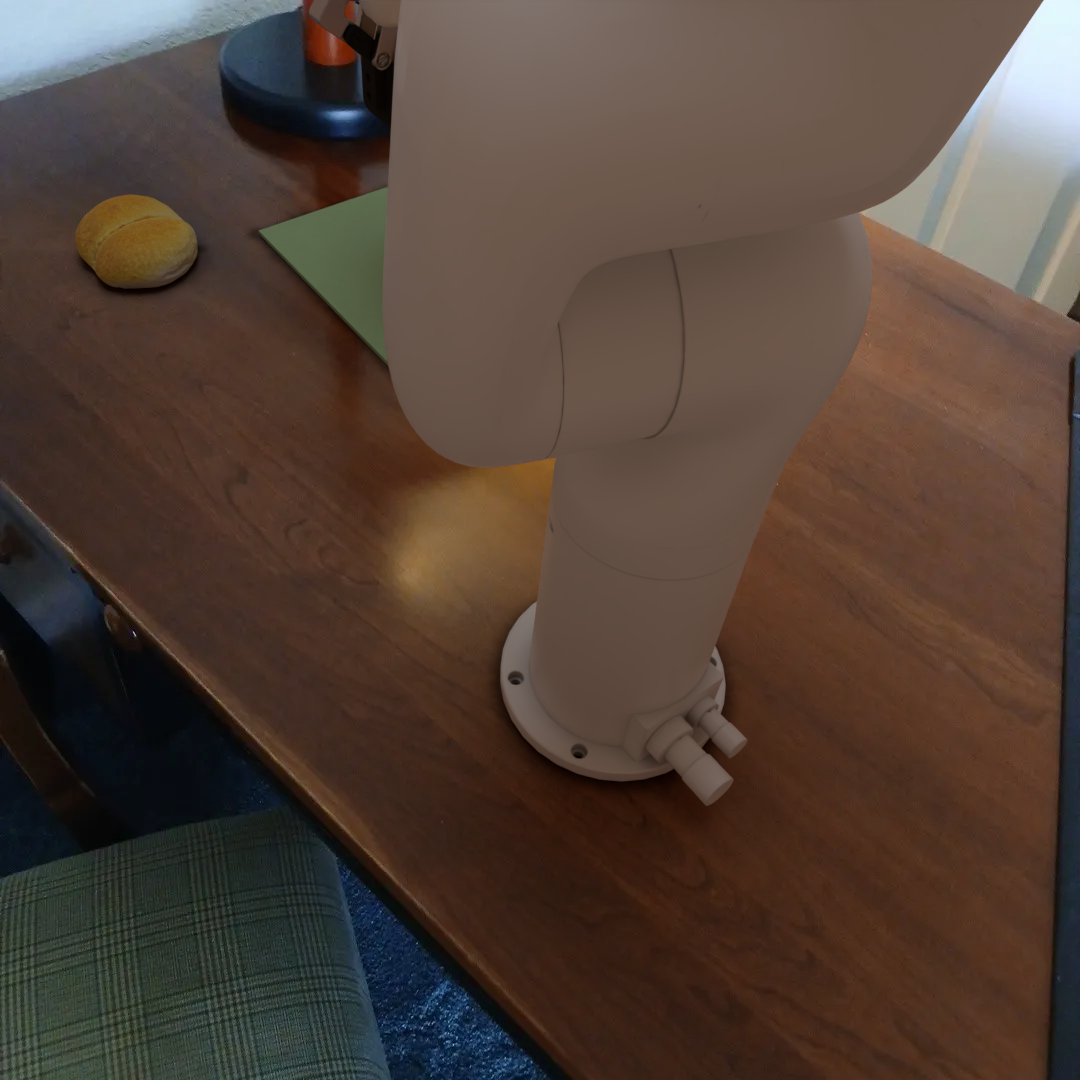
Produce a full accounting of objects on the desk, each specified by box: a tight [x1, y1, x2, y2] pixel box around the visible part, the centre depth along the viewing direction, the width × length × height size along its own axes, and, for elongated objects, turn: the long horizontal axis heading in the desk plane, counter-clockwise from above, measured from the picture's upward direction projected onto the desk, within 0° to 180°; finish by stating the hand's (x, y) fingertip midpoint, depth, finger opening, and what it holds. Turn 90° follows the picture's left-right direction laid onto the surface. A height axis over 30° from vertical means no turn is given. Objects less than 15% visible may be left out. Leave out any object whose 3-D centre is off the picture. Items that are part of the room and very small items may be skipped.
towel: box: [258, 186, 389, 368], centre depth 82 cm, size 22×18×1 cm
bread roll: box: [74, 193, 199, 289], centre depth 79 cm, size 8×9×4 cm
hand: (421, 103), depth 70 cm, fingers closed on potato, 5 cm apart
